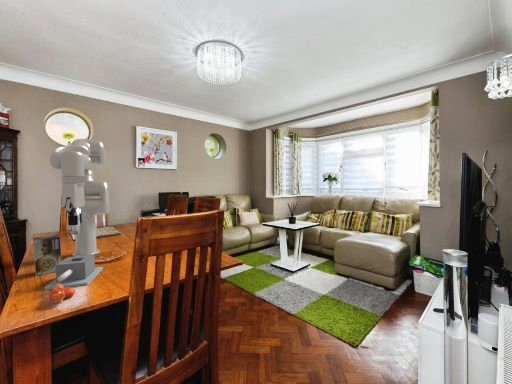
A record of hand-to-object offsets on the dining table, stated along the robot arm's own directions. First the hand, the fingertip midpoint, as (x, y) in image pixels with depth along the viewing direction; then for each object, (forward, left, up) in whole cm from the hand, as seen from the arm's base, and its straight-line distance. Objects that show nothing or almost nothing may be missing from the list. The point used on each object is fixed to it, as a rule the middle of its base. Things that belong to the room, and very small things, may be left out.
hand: (75, 224), depth 97 cm
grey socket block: (+2, 0, -23) cm, 23 cm away
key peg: (0, 0, -4) cm, 4 cm away
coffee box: (-13, -16, -24) cm, 31 cm away
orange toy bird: (+19, +3, -24) cm, 31 cm away
